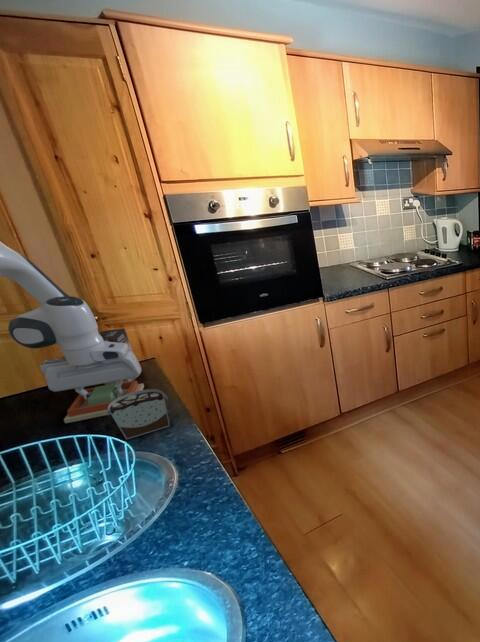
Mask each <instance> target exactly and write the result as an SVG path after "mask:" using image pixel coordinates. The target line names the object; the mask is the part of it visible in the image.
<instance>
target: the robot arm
mask: <svg viewBox="0 0 480 642" xmlns="http://www.w3.org/2000/svg"><path fill="white" fill-rule="evenodd" d="M0 277H4V278H7V279H10V280H12V281H13V282H15V283H16V284H18V285H19V286H20V287H21V288H22V289H23V290H25V291H26V292H27V293H28V294H29V295H30V296H32V298H34V300H36V301H37V302H38V303H39V304H40V306H39V307H37V308H34V309H32V310H29V311H27V312H24V313H21V314H19V315H17V316H16V317H14V318H12V319H10V321H9V322H8V326H7V329H8V330H7V331H8V333H9V336H10V337H11V339H12V340H13V341H14V342H16V344H18V345H19V346H22V347H24V348H28V349H41V348H46V347H51V346H53V345H54V346H55V345H58V346H59V347H60V349H61V352H62V354H63V356H61V357H57V358H48V359H47V358H46V359H45V360H43V361H42V362H41V363H39V369H40V371H41V373H42V374H43V375H44V376H45V377H44V378H45V381H46V385H47V387H48V390H50V391H52V392H54V393H57V392H62V391H69V390H73V389H74V391H75V392H76V393H78V395H79V394H81V395H82V396H84V398H85V400H87V399H88V398H89V396H90V395H91V393H92V392H87V391H86V390H85V387H91V386H97V385H102V384H105V383H108V382H114V381H115V384H118V386H117V387H115V388H114V389H113V391H114V394H115V395H117V394H122V388H121V385H122V383H123V380H125V379H131V378H136V379H137V378H138V377H139V376H140V375H141V373H142V370H143V369H142V366H141V364H140V361H139V360H138V358H137V356H136V355H135V354H133V353H134V352H133V353H132V352H129V351H128V348H129V347H128V345H127V344H126V343H118V342H107V341H104V340H103V338H102V336H101V335H100V334H99V333H100V332H99V325H98V322H97V321H96V318H95V315H94V313H93V311H92V309H91V307H90V306H89V305H88V303H87V302H86V301H85V300H83V299H82V298H81V297H77V296H70V295H68V293H66V292H65V291H64V290H63V289H62V288H61V287H59V285H57V284H56V282H54V280H52V279H51V278H50V277H49V276H48V275H47V274H46V273H45V272H44V271H42V269H40V268H39V267H38V266H37V265H36V264H35V263H34V262H32V261H31V259H29V258H28V257H26V256H25V255H24V254H23V253H21V252H20V251H17V250H14V249H12V248H11V247H9V246H7V245H6V244H4V243H3V242H2V241H0Z"/></svg>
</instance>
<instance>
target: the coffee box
mask: <svg viewBox="0 0 480 642" xmlns="http://www.w3.org/2000/svg"><path fill="white" fill-rule="evenodd" d="M99 334H100V335H101V336H102V338H103V340H104V341H107V342H118V343H126V344H127V345H128V347H129V348H128V351H129V352H132V353H133V354H134V350H133V348H132V345H131V343H130V340H129V337H128V334H127V332H126V329H125V328H116V329H109V330H102V331H100V332H99ZM134 355H135V354H134ZM136 379H137V377H136V378H131V379H125V380H123V383H124V382H130V381H135V380H136ZM110 384H115V381H114V382H108V383H104V385H110Z"/></svg>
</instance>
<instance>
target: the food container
mask: <svg viewBox="0 0 480 642" xmlns="http://www.w3.org/2000/svg"><path fill="white" fill-rule="evenodd" d="M165 398H166V399H165ZM168 399H169V398H168V397H167V395H166V394H165V393H164V392H163V391H162V390H160V389H156V388H153V389H152V388H149V389H143V390H141V391H136V392H132V393H129V394H126V395H124V396H121V397H119V398H117V399H116V400H114V401H113V402H111V403H110V404H109V406H108V409H107V413H108V415H107V416H111V417H112V418H113V420H114V421H115V424H116V425H117V427H118V428H119V430H120V432H121V433H122V435H123V436H124V438H125V440H130V439H133V438H136V437H139V436H142V435H146V434H149V433H153V432H156V431H159V430H163V429H165V428H168V427H171V422H170V419H169V414H168V408H167V403H166V400H168ZM109 413H110V415H109Z"/></svg>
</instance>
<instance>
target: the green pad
mask: <svg viewBox="0 0 480 642" xmlns="http://www.w3.org/2000/svg"><path fill="white" fill-rule="evenodd" d="M117 386H118V385H117V384H110V385H105V384H104V385H99V386H95V387H94V388H95V389H94V390H93V392H92V393H91V395H90V396H89V398H88V399H87V400H88V402H89V405H90V406H91V405H96V404H101V403H107V402H112V401H114V400H116V399H117V397H118V395H119V394H117V395H115V394H114V391H113V389H114V388H115V387H117Z"/></svg>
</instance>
